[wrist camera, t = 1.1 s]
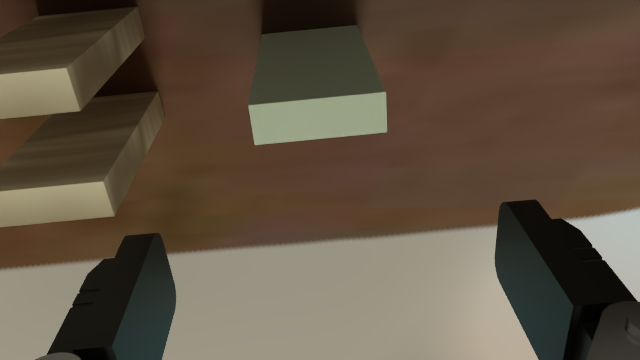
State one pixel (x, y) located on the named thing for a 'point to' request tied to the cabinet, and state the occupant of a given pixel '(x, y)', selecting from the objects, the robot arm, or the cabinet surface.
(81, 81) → the domino
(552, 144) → the cabinet surface
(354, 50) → the domino
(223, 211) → the cabinet surface
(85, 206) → the domino
